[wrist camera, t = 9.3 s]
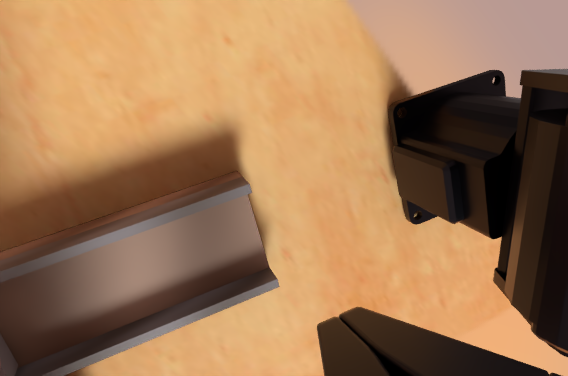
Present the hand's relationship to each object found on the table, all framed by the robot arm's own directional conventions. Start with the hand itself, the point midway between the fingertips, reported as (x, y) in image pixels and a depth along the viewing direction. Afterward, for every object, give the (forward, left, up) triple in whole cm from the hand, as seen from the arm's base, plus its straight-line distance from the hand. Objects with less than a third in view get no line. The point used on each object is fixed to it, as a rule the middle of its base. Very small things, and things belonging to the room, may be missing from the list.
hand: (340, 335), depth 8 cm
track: (+7, +3, -13) cm, 15 cm away
